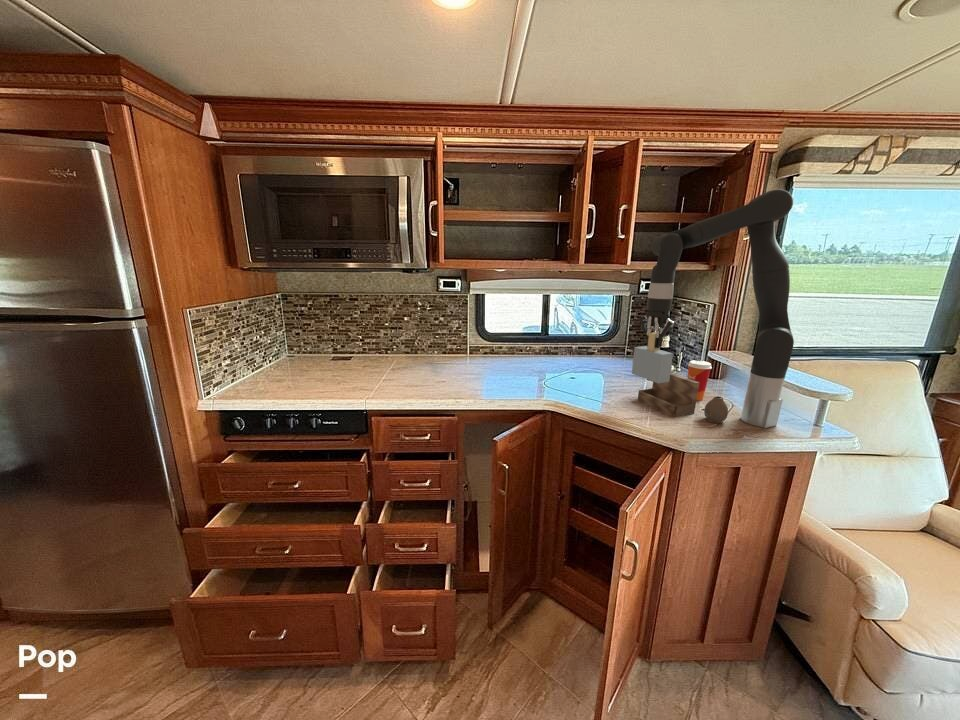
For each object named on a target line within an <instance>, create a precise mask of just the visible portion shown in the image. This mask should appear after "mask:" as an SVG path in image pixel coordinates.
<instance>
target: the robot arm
mask: <svg viewBox="0 0 960 720" xmlns="http://www.w3.org/2000/svg"><path fill="white" fill-rule="evenodd" d="M793 205H794V198H793V195H792V194H791V193H790V192H789V191H788V190H785V189H780V188H779V189H778V188H777V189H772V190H769V191H767V192H764V193H762V194H759V195H757V196H756V197H754V198H753V199H751V200H750V201H749V202H748V203H746V204H745V205H742V206H740V207H738V208H735V209H732V210H729V211H726V212H723V213H720V214H717V215H714V216H712V217H708V218H705V219H702V220H700V221H697V222H694V223H692V224H690V225H688V226H686V227H683V228H680V229H676V230H673V231H670V232H667V233H663V234H661V235H659V236H657V237H656V238H655V239H654V240H653V241H652V243H651V251H652V253H653V254H654V255H655V256H657V260H656V261H657V263H656V264H655V265H653V267H652V270H651V274H650V276H651V277H650V284H649V288H648V292H647V301H646V307H645V308H646V310H647V313H646V314H645V315H643V316H640V317H639V322H640V326H641V329H642V333H643V334H646V336H647V338H646V346H647V347H648V339H649V333H653V332H656V337H657V338H655V346H654V347H655V348H660V349H661V347H662V345H663V339H664V338H665V337H669V336H670V334H671V332H672V331H673V329H674V328H675V326H676V324H677V321H676V320H672V319H670V316H671V315H670V312H671V311H672V307H673V298H674V288H675V287H674V285H675V284H674V283H675V277H676V270H677V267H678V264H679V261H680V258H681V255H682V253H683V250H685V249H688V248H694V247H697V246H700V245H704V244H706V243H709V242H712V241H715V240H716V239H719V238H721V237H723V236H726V235H728V234H730V233H731V234H732V232H733V233H734V232H735V231H738V230H741V229H744V228H747V234H748V237H749V245H750V256H751V257H750V258H751V267H752V269H751V273H752V287H753V293H754V296H755V301H756V305H757V308H758V315H759V318H758V319H759V321H758V323H759V326H758V335H757V339H756V344H755V350H754V353H753V359H752V363H751V367H750V373H749V376H748V382H747V386H746V391H745V396H744V399H743V406H742V411H741V415H740V420H741V421H742V422H744V423H746V424H749V425H751V426H755V427H761V428H764V429H769V428H772V427H776V426H777V425H778V422H779V417H780V413H781V409H782V404H783V401H784V400H783V399H782V398H781V396H782V392H783V386H784V382H785V378H786V374H787V371H788V369H789V367H790V365H789V364H790V361H791V357H792V352H793V349H794V345H795V342H794V335H793V333H792V331H791V330H792V329H791V325H790V320H789V312H788V305H789V304H788V303H789V297H790V287H791V286H790V285H791V284H790V283H791V282H790V280H791V279H790V266H789V260H788V259H787V257H786V255H785V253H784V251H783V250H782V248H781V247H780V245H779V243H778V241H777V239H776V238H777V237H776V233H775V230H776V229H775V222H776V221H779V220H781V219H782V218H784V217H785V216H787V215H788V214H789V213H790V212H791V210H792V209H793Z"/></svg>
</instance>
